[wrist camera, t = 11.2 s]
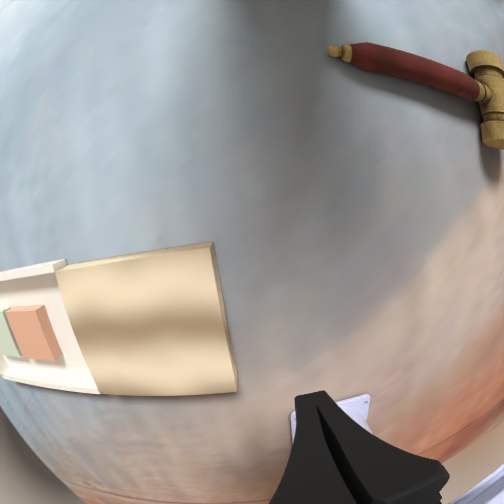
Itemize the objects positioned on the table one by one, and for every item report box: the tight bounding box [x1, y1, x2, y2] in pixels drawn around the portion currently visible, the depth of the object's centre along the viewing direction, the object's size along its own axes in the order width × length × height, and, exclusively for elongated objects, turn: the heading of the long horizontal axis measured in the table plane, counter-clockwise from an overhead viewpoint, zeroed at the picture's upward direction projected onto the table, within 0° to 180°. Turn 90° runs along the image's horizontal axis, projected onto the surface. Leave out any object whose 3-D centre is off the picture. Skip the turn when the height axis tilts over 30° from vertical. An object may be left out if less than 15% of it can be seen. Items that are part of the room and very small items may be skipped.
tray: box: [0, 259, 100, 394], centre depth 19 cm, size 12×16×2 cm
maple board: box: [55, 242, 238, 396], centre depth 19 cm, size 11×12×2 cm
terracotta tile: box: [6, 304, 62, 361], centre depth 19 cm, size 5×5×2 cm
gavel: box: [328, 42, 504, 149], centre depth 16 cm, size 21×5×10 cm
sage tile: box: [0, 306, 22, 357], centre depth 19 cm, size 5×5×2 cm
